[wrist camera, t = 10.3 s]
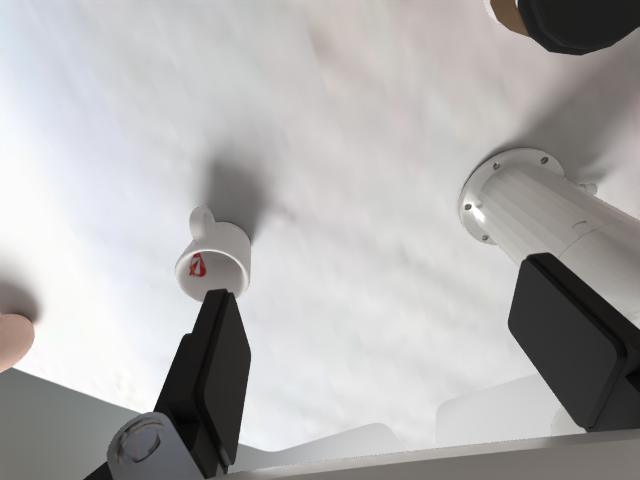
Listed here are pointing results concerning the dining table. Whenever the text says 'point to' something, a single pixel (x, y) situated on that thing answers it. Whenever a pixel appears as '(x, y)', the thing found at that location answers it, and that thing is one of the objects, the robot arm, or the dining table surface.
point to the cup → (214, 258)
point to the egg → (14, 339)
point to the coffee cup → (568, 22)
